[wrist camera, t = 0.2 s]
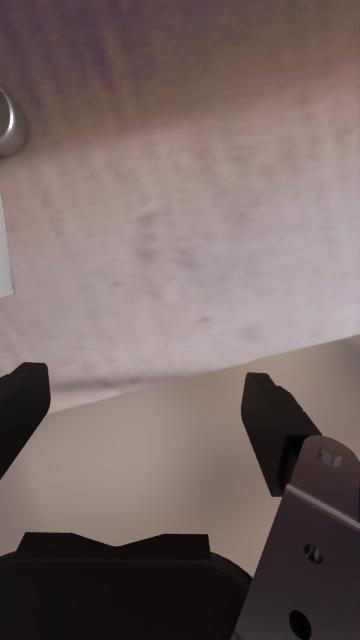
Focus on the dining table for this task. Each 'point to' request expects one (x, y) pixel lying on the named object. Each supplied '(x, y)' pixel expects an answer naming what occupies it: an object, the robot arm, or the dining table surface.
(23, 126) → the plastic bottle
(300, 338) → the dining table surface
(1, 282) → the bin
